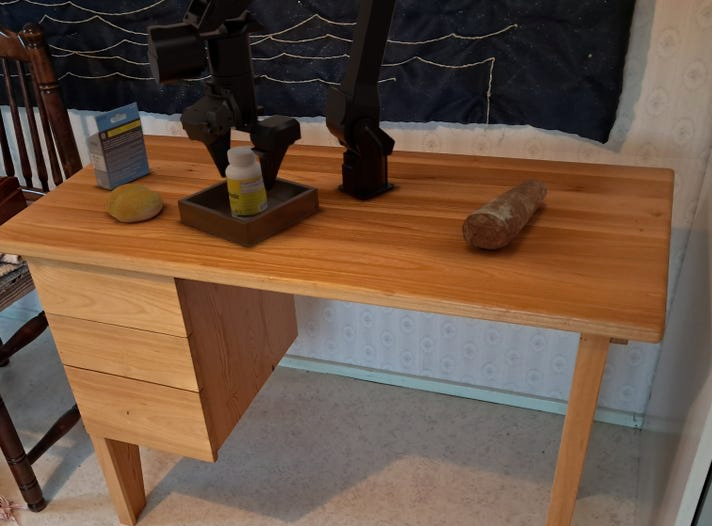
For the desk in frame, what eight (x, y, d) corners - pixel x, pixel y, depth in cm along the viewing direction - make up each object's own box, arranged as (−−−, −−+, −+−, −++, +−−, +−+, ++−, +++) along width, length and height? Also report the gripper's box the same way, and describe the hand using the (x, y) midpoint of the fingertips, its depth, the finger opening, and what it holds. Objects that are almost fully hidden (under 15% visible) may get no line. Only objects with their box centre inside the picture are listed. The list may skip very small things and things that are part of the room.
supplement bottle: (228, 211, 111) (218, 147, 106) (263, 204, 112) (255, 141, 107) (236, 225, 107) (226, 159, 101) (272, 218, 108) (265, 152, 102)
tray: (251, 190, 118) (248, 169, 116) (319, 210, 110) (317, 188, 108) (181, 222, 110) (177, 200, 108) (248, 247, 101) (245, 223, 99)
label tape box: (137, 169, 130) (121, 98, 123) (152, 173, 128) (137, 101, 121) (97, 186, 125) (78, 113, 118) (112, 191, 123) (94, 116, 116)
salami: (457, 251, 96) (459, 210, 92) (517, 198, 108) (521, 161, 104) (503, 261, 92) (507, 220, 89) (560, 205, 104) (565, 167, 101)
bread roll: (128, 228, 110) (122, 203, 107) (100, 213, 115) (94, 188, 113) (175, 211, 114) (170, 186, 111) (145, 196, 120) (140, 172, 117)
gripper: (140, 77, 99) (162, 188, 108) (235, 96, 88) (251, 217, 97) (203, 58, 105) (219, 164, 114) (299, 73, 94) (308, 189, 103)
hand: (246, 183), depth 107 cm, fingers open, 9 cm apart
